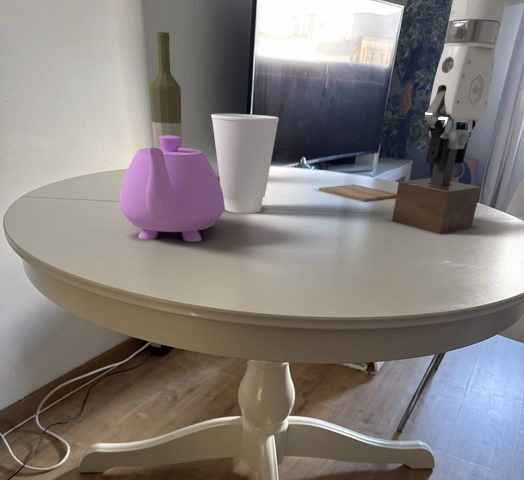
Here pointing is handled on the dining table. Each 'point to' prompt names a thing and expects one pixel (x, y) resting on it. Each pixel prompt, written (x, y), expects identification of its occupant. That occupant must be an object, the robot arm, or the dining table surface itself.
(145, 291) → the dining table surface
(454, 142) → the long square rod
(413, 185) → the holder
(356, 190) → the wooden board
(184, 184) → the teapot
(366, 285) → the dining table surface
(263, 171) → the cup
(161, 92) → the bottle
